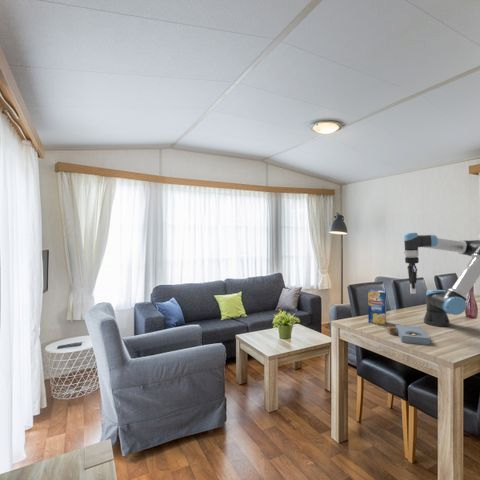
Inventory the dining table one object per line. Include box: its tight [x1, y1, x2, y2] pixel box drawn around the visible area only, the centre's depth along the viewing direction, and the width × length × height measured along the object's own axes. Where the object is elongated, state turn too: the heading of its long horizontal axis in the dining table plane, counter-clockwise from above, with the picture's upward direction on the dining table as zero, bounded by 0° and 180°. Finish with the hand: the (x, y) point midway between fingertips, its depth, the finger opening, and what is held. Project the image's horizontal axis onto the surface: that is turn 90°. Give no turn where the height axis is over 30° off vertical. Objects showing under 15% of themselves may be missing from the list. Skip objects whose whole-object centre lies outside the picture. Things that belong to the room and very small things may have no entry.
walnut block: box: [386, 325, 398, 336], centre depth 188 cm, size 4×4×4 cm
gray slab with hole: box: [394, 324, 431, 345], centre depth 181 cm, size 22×14×4 cm, turn 161°
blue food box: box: [367, 289, 387, 325], centre depth 212 cm, size 7×11×22 cm, turn 61°
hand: (413, 293), depth 194 cm, fingers closed
